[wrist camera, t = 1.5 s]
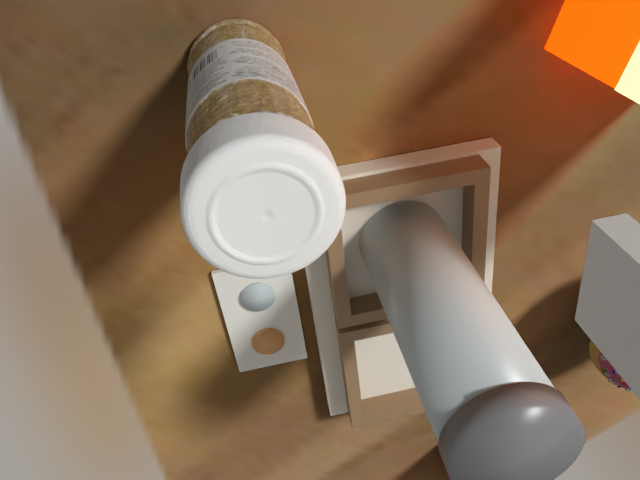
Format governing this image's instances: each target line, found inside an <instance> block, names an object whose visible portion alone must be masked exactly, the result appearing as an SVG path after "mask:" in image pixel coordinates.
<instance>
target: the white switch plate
mask: <svg viewBox="0 0 640 480" xmlns="http://www.w3.org/2000/svg"><path fill="white" fill-rule="evenodd" d="M211 273H212V278H213V281H214V284H215V288H216V291H217V295H218V298H219V302H220V305H221V309H222V312H223V316H224V319H225V323H226V326H227V330H228V333H229V337H230V340H231V344H232V347H233V351H234V354H235V358H236V361H237V365H238V368H239V371H240V372H244V371H249V370H253V369H258V368H263V367H267V366H272V365H277V364H281V363H286V362H291V361H295V360H300V359H304V358H307V352H306V347H305V341H304V336H303V331H302V325H301V320H300V315H299V309H298V304H297V298H296V293H295V288H294V282H293V277H292V273H290V274H287V275H284V276H280V277H275V278H267V279H251V278H244V277H239V276H235V275H232V274H229V273H226V272H224V271H222V270H220V269H219V270H214V271H211Z"/></svg>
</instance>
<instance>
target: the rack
mask: <svg viewBox="0 0 640 480" xmlns="http://www.w3.org/2000/svg"><path fill="white" fill-rule="evenodd" d="M500 158H501V146H500V145H499V144H498V143H497V142H496V141H495V140H494V139H493V138H492V137H490V138H485V139H480V140H474V141H469V142H464V143H458V144H453V145H448V146H443V147H437V148H432V149H427V150H422V151H416V152H411V153H406V154H400V155H395V156H390V157H385V158H379V159H374V160H369V161H364V162H358V163H353V164H348V165H343V166H337V168H338V170H339V173H340V176H341V178H342V181H343V185H344V189H345V194H346V209H345V215H344V220H343V223H342V226H341V228H340V231H339V233H338V235H337V237H336V238H335V240H334V241H333V243H332V244H331V245H330V247H329V248H328V249H327V250H326V251H325V252H324V253H323V254H322V255H321V256H320V257H319V258H318V259H316V260H315V261H314V262H312V263H311V264H309V265H308V266H306V267H305V272H306V278H307V284H308V290H309V296H310V302H311V308H312V314H313V320H314V326H315V332H316V337H317V343H318V349H319V355H320V361H321V367H322V373H323V379H324V385H325V391H326V397H327V403H328V407H329V411H330V415H331V416H334V415H338V414H343V413H347V412H348V414H349V417H350V421H351V425H352V428H357V427H361V426H366V425H370V424H374V423H379V422H383V421H388V420H392V419H397V418H401V417H405V416H410V415H414V414H419V413H423V412H425V409H424V407H423V404H422V402H421V399H420V397H419V395H418V392H417V390H416V387H415V385H414V382H413V380H412V377H411V375H410V372H409V370H408V368H407V365H406V363H405V360H404V358H403V355H402V353H401V350H400V348H399V346H398V343H397V341H396V338H395V336H394V333H393V331H392V328H391V326H390V323H389V321H388V319H387V316H386V314H385V311H384V309H383V306H382V304H381V301H380V299H379V297H378V294H377V292H376V289H375V287H374V284H373V282H372V279H371V277H370V275H369V272H368V270H367V267H366V265H365V262H364V260H363V257H362V255H361V252H360V247H359V241H360V236H361V232H362V230H363V228H364V226H365V224H366V223H367V221H368V220H369V219H370V218H371V217H372V216H373V215H374V214H375V213H376V212H377V211H379V210H380V209H382V208H383V207H385V206H387V205H390V204H392V203H395V202H399V201H409V200H412V201H419V202H423V203H425V204H427V205H429V206H431V207H432V208H433V209H435V210H436V212H437V213H438V214H439V216H440V217H441V219H442V220H443V222H444V223H445V225H446V226H447V228H448V229H449V231H450V232H451V234H452V235H453V237H454V238H455V240H456V241H457V243H458V244H459V246H460V247H461V249H462V250H463V252H464V253H465V255H466V256H467V258H468V259H469V260H470V262H471V263H472V265H473V266H474V268H475V269H476V271H477V272H478V274H479V275H480V277H481V278H482V280H483V281H484V283H485V284H486V286H487V287H488V289H489V290H490V292H492V277H493V262H494V248H495V233H496V218H497V203H498V188H499V173H500Z"/></svg>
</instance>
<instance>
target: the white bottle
mask: <svg viewBox="0 0 640 480" xmlns="http://www.w3.org/2000/svg"><path fill="white" fill-rule="evenodd" d="M359 247H360V252H361V255H362V257H363V260H364V262H365V265H366V267H367V270H368V272H369V275H370V277H371V279H372V282H373V284H374V287H375V289H376V292H377V294H378V297H379V299H380V301H381V304H382V306H383V309H384V311H385V314H386V316H387V319H388V321H389V323H390V326H391V328H392V331H393V333H394V336H395V338H396V341H397V343H398V346H399V348H400V350H401V353H402V355H403V358H404V360H405V363H406V365H407V368H408V370H409V372H410V375H411V377H412V380H413V382H414V385H415V387H416V390H417V392H418V395H419V397H420V399H421V402H422V404H423V407H424V409H425V412H426V414H427V417H428V419H429V421H430V424H431V426H432V429H433V431H434V434H435V436H436V439H437V441H438V449H439V453H440V456H441V458H442V460H443V463H444V465H445V468H446V470H447V473H448V475H449V478H450V480H554V479H555V478H556V477H558V476H559V475H560V474H562V473H563V472H564V471H565V470H566V469H568V467H570V466H571V465H572V463H573V462H574V461H575V460H576V459H577V457H578V456H579V454H580V452H581V450H582V448H583V446H584V443H585V429H584V426H583V424H582V423H581V421H580V420H579V418H578V417H577V415H576V414H575V412H574V411H573V409H572V408H571V406H570V405H569V403H568V402H567V400H566V399H565V397H564V396H563V395H562V394H561V393H560V392H559V391H558V390H557V389H555V388H554V386H553V385H552V383H551V382H550V380H549V379H548V377H547V376H546V374H545V373H544V371H543V370H542V368H541V367H540V365H539V364H538V362H537V361H536V359H535V358H534V356H533V355H532V353H531V352H530V350H529V349H528V347H527V346H526V344H525V343H524V341H523V340H522V338H521V337H520V335H519V334H518V332H517V331H516V329H515V328H514V326H513V325H512V323H511V322H510V320H509V319H508V317H507V316H506V314H505V313H504V311H503V310H502V308H501V307H500V305H499V304H498V302H497V301H496V299H495V298H494V296H493V295H492V293H491V292H490V290H489V289H488V287H487V286H486V284H485V283H484V281H483V280H482V278H481V277H480V275H479V274H478V272H477V271H476V269H475V268H474V266H473V265H472V263H471V262H470V260H469V259H468V258H467V256H466V255H465V253H464V252H463V250H462V249H461V247H460V246H459V244H458V243H457V241H456V240H455V238H454V237H453V235H452V234H451V232H450V231H449V229H448V228H447V226H446V225H445V223H444V222H443V220H442V219H441V217H440V216H439V214H438V213H437V212H436V210H435V209H433V208H432V207H431V206H429V205H427V204H425V203H423V202H419V201H412V200H409V201H399V202H395V203H392V204H390V205H387V206H385V207H383V208H382V209H380V210H379V211H377V212H376V213H375V214H374V215H373V216H372V217H371V218H370V219H369V220H368V221H367V223H366V224H365V226H364V228H363V230H362V232H361V236H360V241H359Z"/></svg>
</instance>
